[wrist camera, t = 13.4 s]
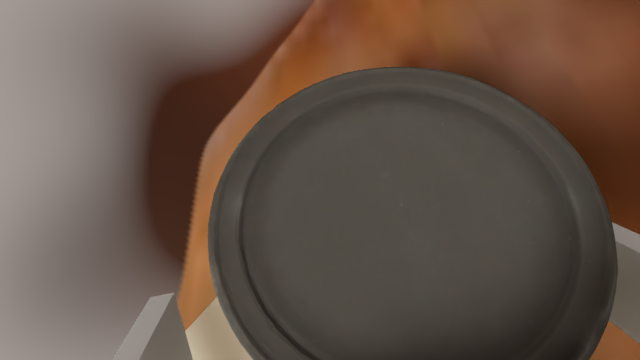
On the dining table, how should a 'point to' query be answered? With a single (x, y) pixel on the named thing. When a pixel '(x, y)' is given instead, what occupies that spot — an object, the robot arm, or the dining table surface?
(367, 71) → the coffee can
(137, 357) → the robot arm
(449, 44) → the dining table surface
